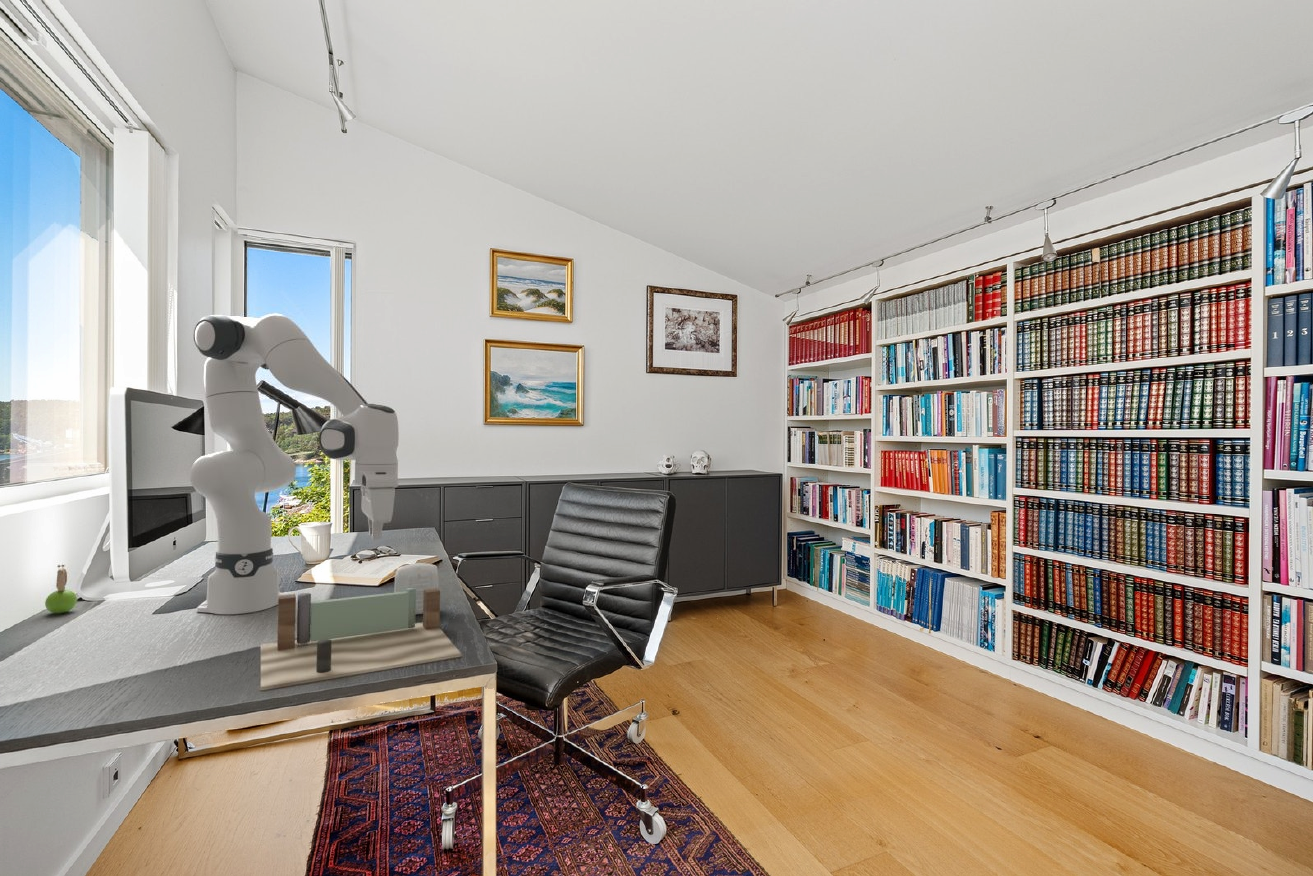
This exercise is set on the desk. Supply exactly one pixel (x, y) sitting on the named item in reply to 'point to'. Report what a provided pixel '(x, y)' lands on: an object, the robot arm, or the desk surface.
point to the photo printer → (416, 580)
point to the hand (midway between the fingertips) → (375, 537)
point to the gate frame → (351, 648)
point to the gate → (354, 615)
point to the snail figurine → (61, 595)
